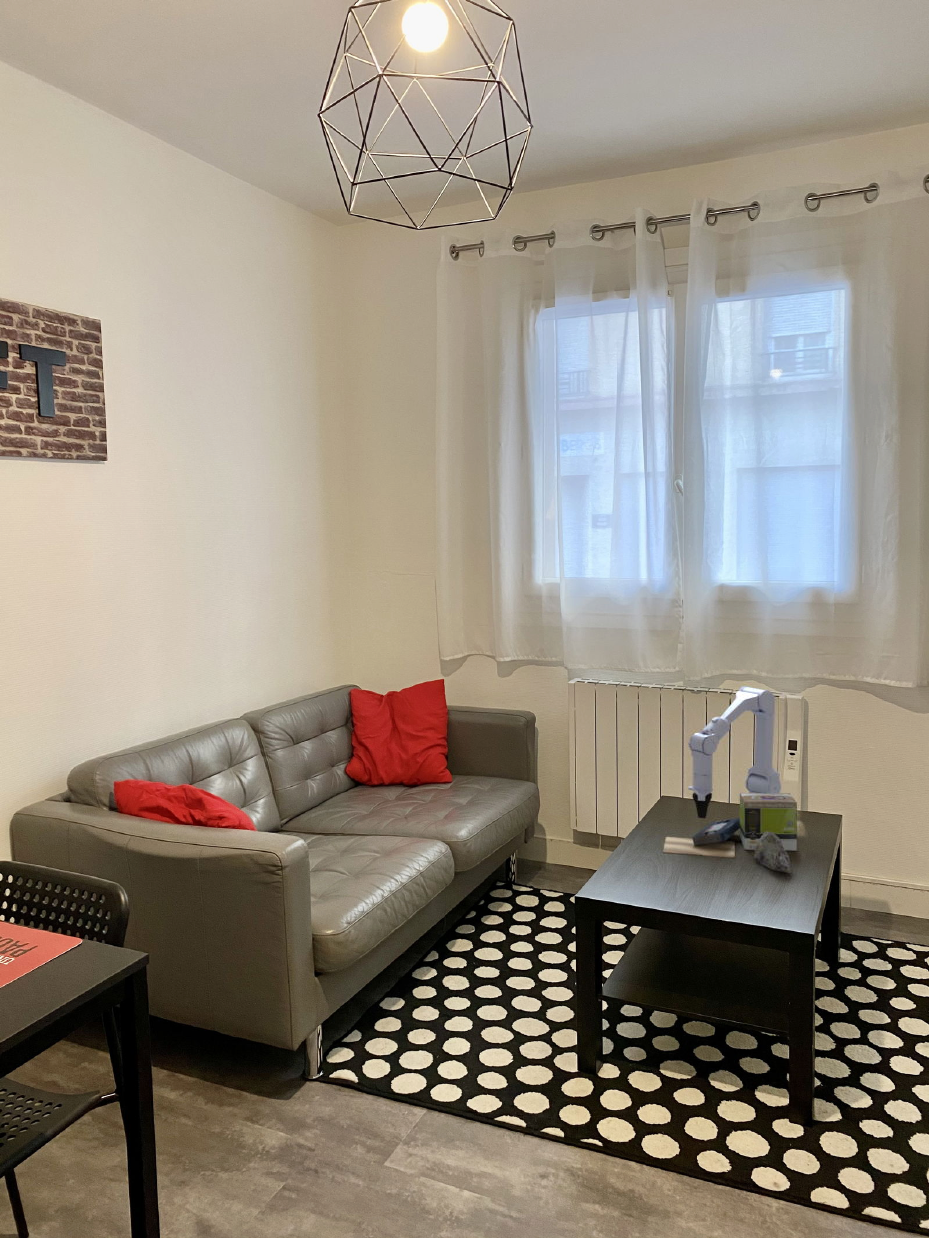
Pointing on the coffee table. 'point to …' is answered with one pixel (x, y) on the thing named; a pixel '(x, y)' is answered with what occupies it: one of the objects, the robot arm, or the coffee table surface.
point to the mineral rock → (772, 853)
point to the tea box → (768, 818)
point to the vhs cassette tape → (717, 831)
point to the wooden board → (699, 847)
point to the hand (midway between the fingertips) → (702, 817)
